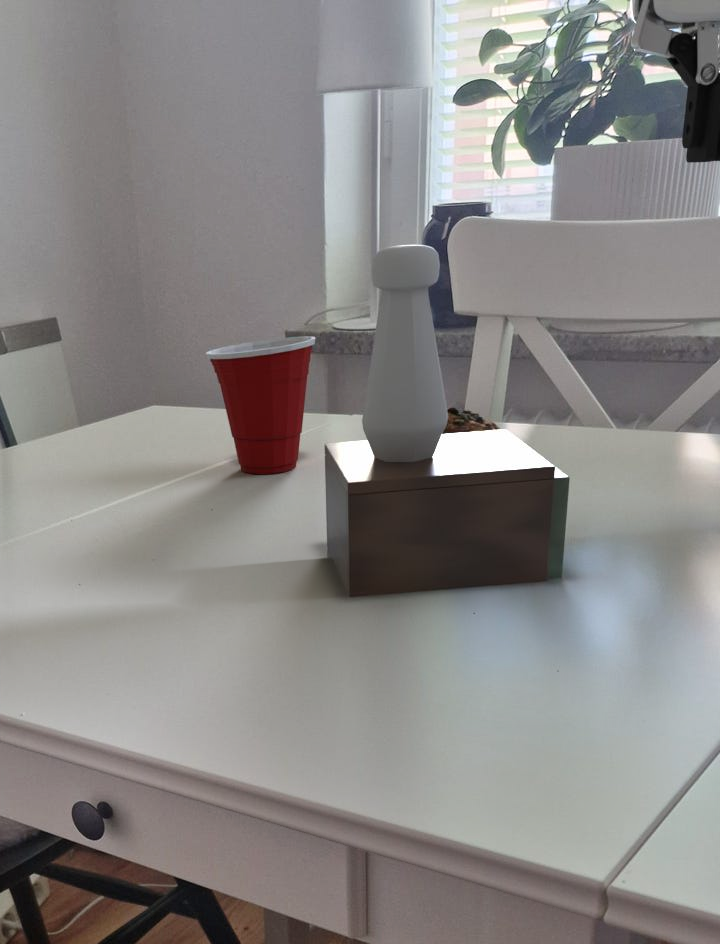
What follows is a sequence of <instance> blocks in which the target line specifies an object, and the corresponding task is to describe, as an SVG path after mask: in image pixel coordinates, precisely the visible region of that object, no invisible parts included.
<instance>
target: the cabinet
mask: <svg viewBox="0 0 720 944" xmlns="http://www.w3.org/2000/svg"><path fill="white" fill-rule="evenodd" d="M555 467H556V465H554V464H553V463H551V462H550V461H549V460H547V458H545V457H543V456H542V455H541V454H540V453H538V452H537V451H536V450H534V449H533V448H532V447H530V446H529V445H528V444H527V443H525V442H523V441H522V440H521V439H519V438H518V437H517V436H516V435H514V434H513V433H512V432H510V431H509V430H507V429H500V430H492V431H480V432H467V433H454V434H442V436H441V438H440V441H439V443H438V446H437V448H436V451H435V453H434V456H433V457H432V458H428V459H424V460H420V461H415V462H385V461H382V460H380V459H377V458H375V457H374V455H373V453H372V450H371V448H370V445H369V443H368V440H367V439H365V440H354V441H353V440H352V441H339V442H328V443H324V477H325V478H324V480H325V482H324V483H325V514H326V515H325V516H326V517H325V520H326V521H325V522H326V548H327V549H326V553H327V559H332V562H333V564H334V565H335V568H336V571H337V572H338V574H339V577H340V580H341V581H342V583H343V586H344V588H345V590H346V593H347V596H348V598H359V597H372V596H383V595H384V596H385V595H395V594H397V595H398V594H409V593H420V592H421V593H422V592H433V591H444V590H445V591H446V590H447V591H448V590H458V589H471V588H472V589H473V588H482V587H484V588H485V587H495V586H508V585H521V584H533V583H544V582H548V578H547V575H548V561H549V547H550V533H551V520H552V506H553V492H554V478H555Z"/></svg>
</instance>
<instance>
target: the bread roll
mask: <svg viewBox="0 0 720 944" xmlns="http://www.w3.org/2000/svg"><path fill="white" fill-rule="evenodd" d="M447 412H448V421H447V425H446V427H445V429H444V431H443V433H442V434H454V433H467V432H480V431H492V430H501V427H500V426H499V425H498V424H497V423H495V422H493V421H491V420H490V419H486V418H485V417H483V416H480V414H479V413H477V412H476V413H475V412H472V410H469V409H463V410H462V411H460V410H459V408H457V407H454V406H451V407H449V408H447Z"/></svg>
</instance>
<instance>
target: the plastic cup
mask: <svg viewBox="0 0 720 944" xmlns="http://www.w3.org/2000/svg"><path fill="white" fill-rule="evenodd" d="M315 343H316V337H315V336H307V335H306V336H291V337H281V338H271V339H265V340H264V339H263V340H258V341H251V342H244V343H238V344H233V345H228V346H224V347H220V348H215V349H211V350H209V351H206V353H205V356H206V358H207V359H209V360H210V363H211V365H212V366H213V370H214V373H215V374H216V379H217V380H218V384H219V386H220V390H221V395H222V400H223V403H224V408H225V412H226V416H227V419H228V424H229V429H230V433H231V437H232V438H233V441H234V447H235V451H236V456H237V462H238V464H239V466H240V470H241V472H244V473H248V474H251V475H253V474H255V475H265V474H266V475H268V474H269V475H270V474H278V473H284V472H285V473H286V472H288V471H292V470H294V469H296V468H297V462H298V460H299V452H300V442H301V434H302V433H303V422H304V415H305V414H304V412H305V403H306V395H307V384H308V375H309V373H310V363H311V354H312V352H313V351H312V350H313V345H315Z"/></svg>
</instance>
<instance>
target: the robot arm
mask: <svg viewBox="0 0 720 944" xmlns="http://www.w3.org/2000/svg"><path fill="white" fill-rule="evenodd" d="M630 14H631V18H632V20H633V22H634V23H635V26H634V30H633V32H632V37H631V40H630V46H631V48H632V50H634V51H635V52H639V53H643V54H648V55H650V56H655V57H661V58H665V59H666V60H667V61H668V63H669V64H670V65H671V67H672V68H673V69H674V71H675V72H676V73H677V75H678V76H679V77H680V82H681V85H682V86H683V87H684V88H687V89H686V90H687V92H686V101H685V108H684V109H685V110H684V119H683V129H682V136H681V145H682V147H683V149H686V153H685V158H686V159H685V161H686V162H687V163H688V164H689V163H711V162H720V70H719V27H720V0H630ZM674 30H675V31H674ZM676 30H679V31H676Z"/></svg>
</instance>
